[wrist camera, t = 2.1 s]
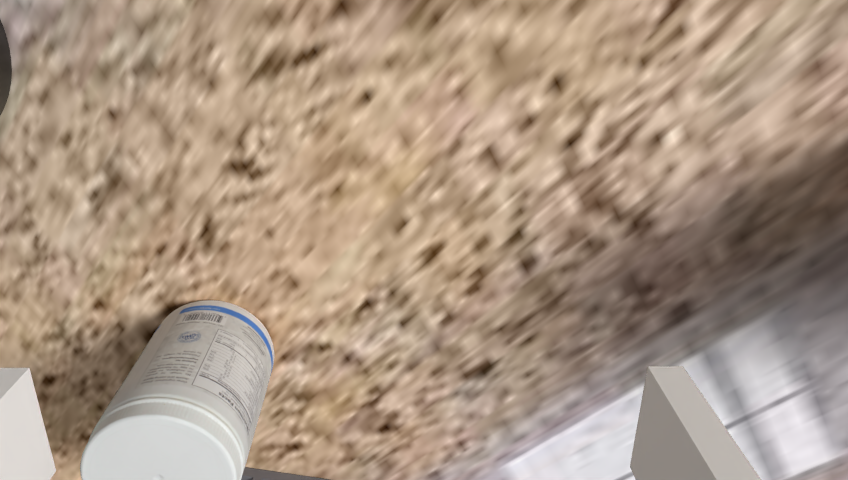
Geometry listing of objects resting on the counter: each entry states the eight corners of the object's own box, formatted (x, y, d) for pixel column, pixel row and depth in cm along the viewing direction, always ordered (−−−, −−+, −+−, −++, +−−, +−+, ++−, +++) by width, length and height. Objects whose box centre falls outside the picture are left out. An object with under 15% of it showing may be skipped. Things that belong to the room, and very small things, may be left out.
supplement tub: (218, 414, 55) (161, 562, 42) (131, 341, 52) (39, 475, 39) (302, 351, 53) (271, 485, 40) (217, 271, 50) (151, 387, 36)
